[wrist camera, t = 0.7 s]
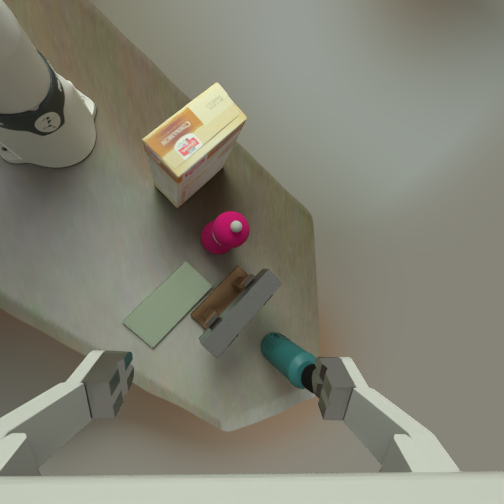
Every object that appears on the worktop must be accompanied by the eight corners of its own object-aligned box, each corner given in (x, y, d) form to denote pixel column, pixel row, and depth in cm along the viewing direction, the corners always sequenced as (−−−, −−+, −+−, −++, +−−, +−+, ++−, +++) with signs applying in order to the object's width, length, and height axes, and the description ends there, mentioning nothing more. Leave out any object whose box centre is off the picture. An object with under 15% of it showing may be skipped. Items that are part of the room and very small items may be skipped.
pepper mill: (218, 217, 54) (243, 192, 35) (236, 243, 55) (269, 232, 36) (192, 234, 52) (203, 217, 33) (211, 261, 53) (232, 259, 34)
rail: (198, 338, 38) (200, 343, 36) (262, 268, 43) (268, 269, 40) (213, 351, 39) (216, 358, 36) (275, 281, 43) (282, 283, 40)
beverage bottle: (260, 361, 55) (306, 411, 36) (254, 334, 55) (297, 370, 36) (284, 351, 57) (339, 394, 38) (279, 325, 57) (331, 355, 38)
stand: (190, 314, 51) (196, 332, 37) (237, 265, 55) (258, 265, 41) (210, 332, 52) (222, 356, 38) (254, 283, 56) (280, 289, 42)
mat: (123, 321, 46) (122, 321, 46) (186, 260, 51) (186, 260, 50) (153, 346, 48) (152, 347, 47) (211, 286, 52) (212, 286, 52)
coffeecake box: (202, 143, 53) (217, 79, 35) (224, 167, 55) (249, 118, 36) (152, 185, 50) (139, 137, 31) (177, 209, 51) (179, 178, 32)
